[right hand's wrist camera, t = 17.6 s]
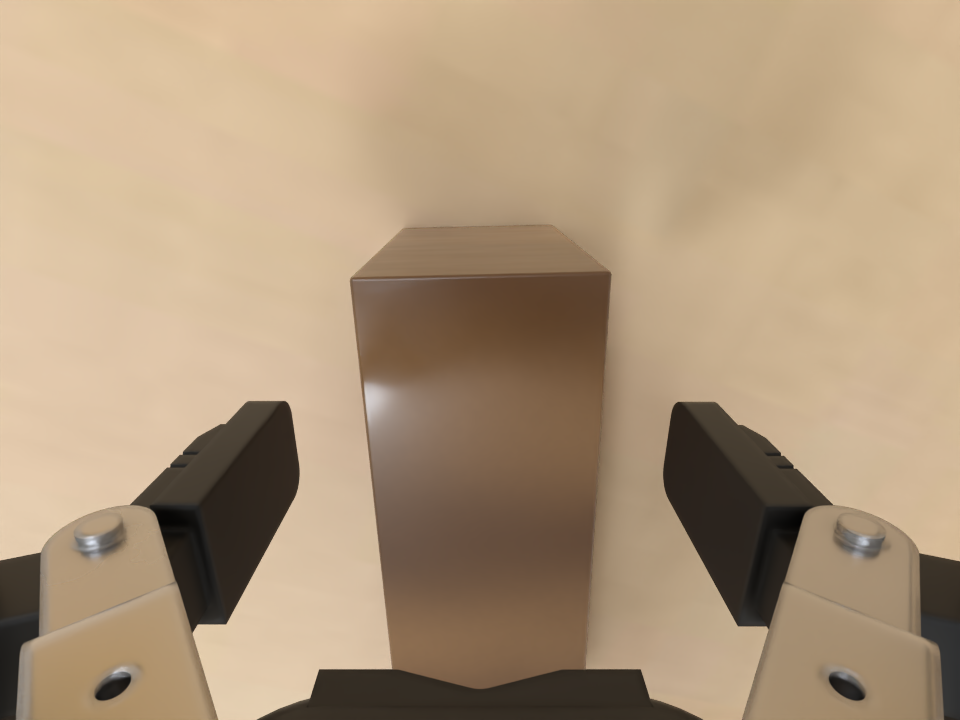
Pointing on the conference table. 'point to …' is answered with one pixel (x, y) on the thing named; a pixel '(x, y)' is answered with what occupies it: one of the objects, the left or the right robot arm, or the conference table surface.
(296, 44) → the conference table surface
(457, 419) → the bar
